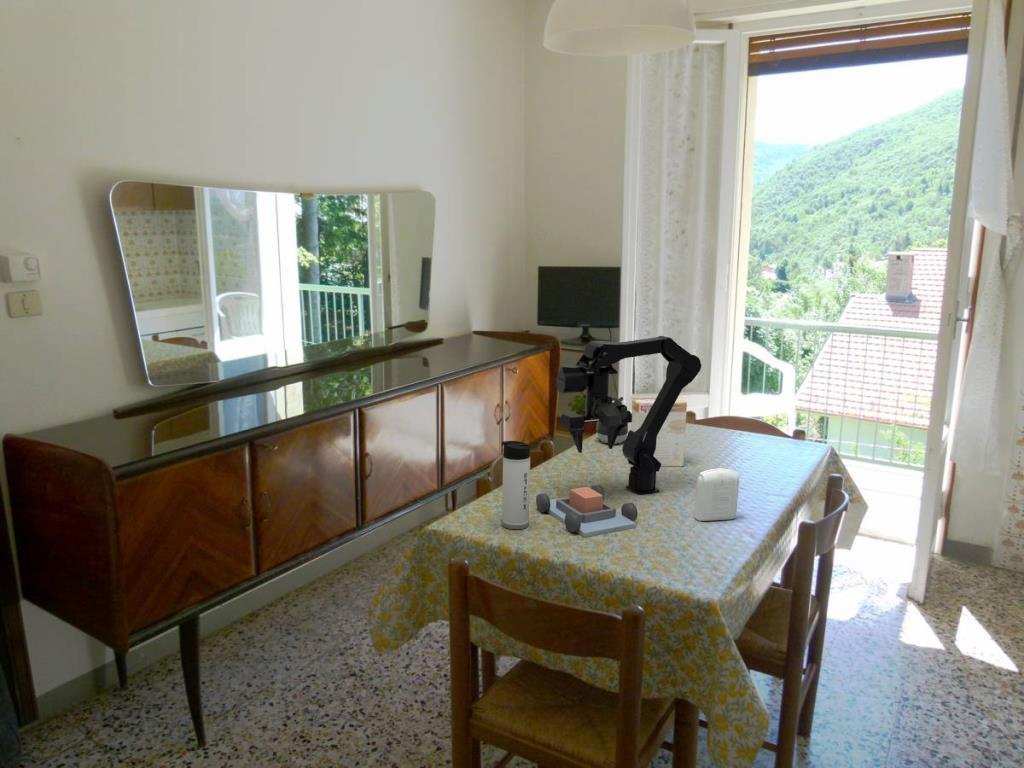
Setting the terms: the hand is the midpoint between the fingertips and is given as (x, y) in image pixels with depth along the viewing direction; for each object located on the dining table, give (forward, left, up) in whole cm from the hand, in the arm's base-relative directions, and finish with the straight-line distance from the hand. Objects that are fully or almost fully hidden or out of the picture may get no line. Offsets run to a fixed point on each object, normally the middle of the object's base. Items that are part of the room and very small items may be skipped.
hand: (595, 450), depth 195 cm
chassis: (+10, +12, -12) cm, 20 cm away
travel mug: (+28, +10, -12) cm, 32 cm away
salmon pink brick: (+10, +12, -11) cm, 19 cm away
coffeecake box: (-32, -16, -12) cm, 38 cm away
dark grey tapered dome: (-33, -41, -12) cm, 54 cm away
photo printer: (-18, +26, -12) cm, 34 cm away
